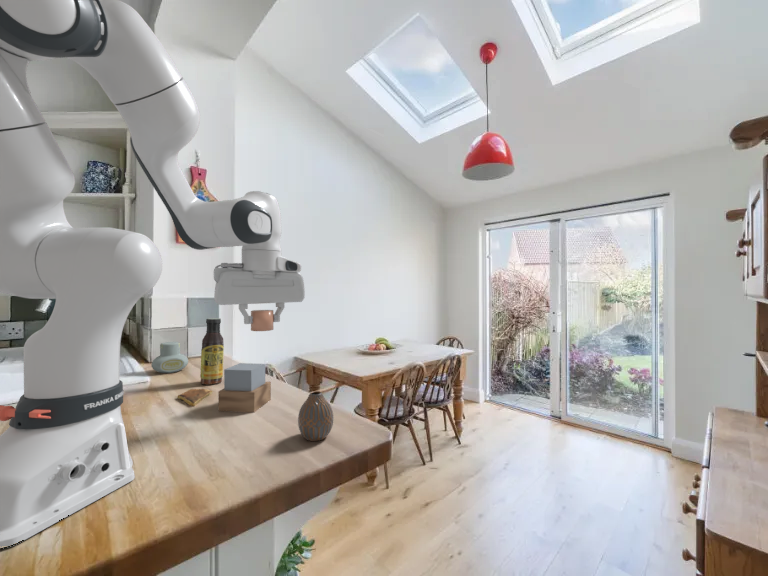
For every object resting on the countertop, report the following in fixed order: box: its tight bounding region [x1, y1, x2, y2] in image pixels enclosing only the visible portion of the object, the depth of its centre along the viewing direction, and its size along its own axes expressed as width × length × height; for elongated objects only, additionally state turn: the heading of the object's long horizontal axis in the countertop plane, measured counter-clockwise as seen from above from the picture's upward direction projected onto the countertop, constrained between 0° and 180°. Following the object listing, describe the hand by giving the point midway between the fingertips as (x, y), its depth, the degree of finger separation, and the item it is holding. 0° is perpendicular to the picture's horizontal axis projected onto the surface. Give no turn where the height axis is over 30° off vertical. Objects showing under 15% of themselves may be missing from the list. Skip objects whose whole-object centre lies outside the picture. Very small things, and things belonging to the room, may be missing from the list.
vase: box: [297, 390, 334, 442], centre depth 68 cm, size 7×7×9 cm
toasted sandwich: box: [177, 388, 213, 407], centre depth 91 cm, size 11×8×2 cm
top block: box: [223, 362, 266, 391], centre depth 86 cm, size 7×7×5 cm
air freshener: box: [151, 341, 189, 374], centre depth 121 cm, size 11×8×10 cm
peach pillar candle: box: [250, 309, 274, 332], centre depth 81 cm, size 5×5×4 cm
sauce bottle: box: [199, 317, 225, 386], centre depth 106 cm, size 6×6×20 cm
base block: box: [217, 381, 272, 413], centre depth 87 cm, size 9×9×5 cm
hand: (262, 322), depth 81 cm, fingers closed on peach pillar candle, 5 cm apart
